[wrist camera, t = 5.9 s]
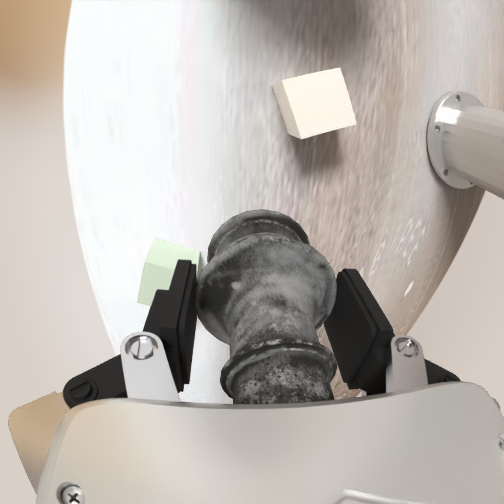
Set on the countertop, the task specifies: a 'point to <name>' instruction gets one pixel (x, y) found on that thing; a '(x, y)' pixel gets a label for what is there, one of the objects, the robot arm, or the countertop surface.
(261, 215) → the salt shaker
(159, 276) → the sage painted cube
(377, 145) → the countertop surface
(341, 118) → the cream painted cube
